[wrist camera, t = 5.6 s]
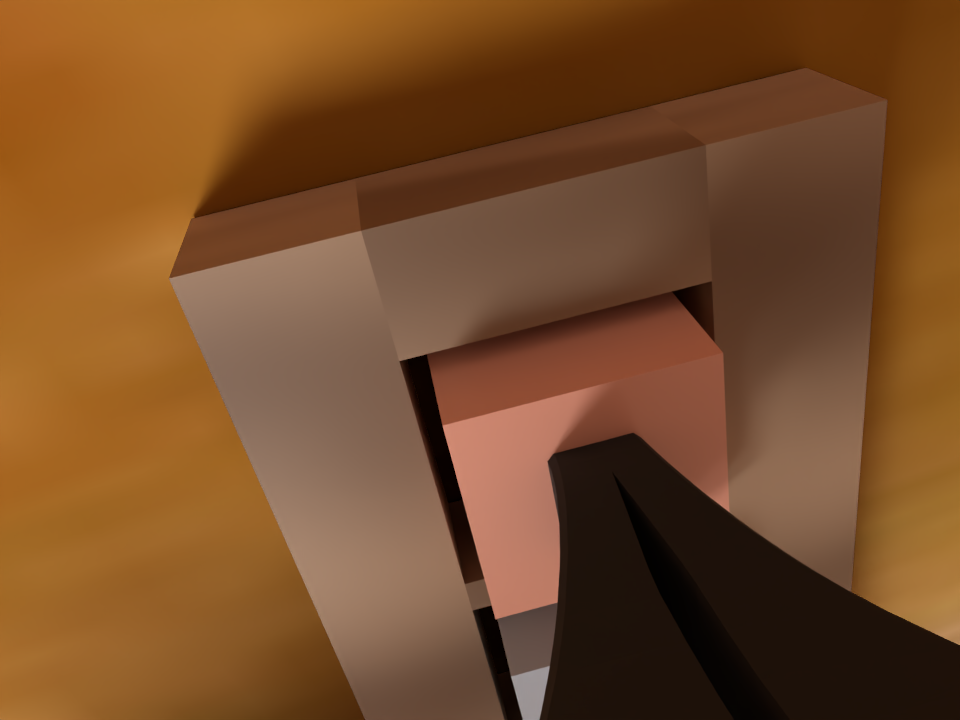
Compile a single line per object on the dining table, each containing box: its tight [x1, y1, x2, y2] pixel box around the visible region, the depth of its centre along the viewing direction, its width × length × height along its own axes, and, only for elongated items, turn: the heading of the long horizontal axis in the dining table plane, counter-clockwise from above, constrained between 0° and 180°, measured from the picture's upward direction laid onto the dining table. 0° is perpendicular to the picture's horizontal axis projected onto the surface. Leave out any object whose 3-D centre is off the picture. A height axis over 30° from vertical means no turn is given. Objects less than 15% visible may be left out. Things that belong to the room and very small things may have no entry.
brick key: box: [427, 292, 729, 619], centre depth 14 cm, size 4×4×3 cm
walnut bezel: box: [169, 68, 887, 720], centre depth 17 cm, size 20×10×2 cm, turn 11°
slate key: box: [498, 603, 557, 720], centre depth 16 cm, size 4×4×3 cm
